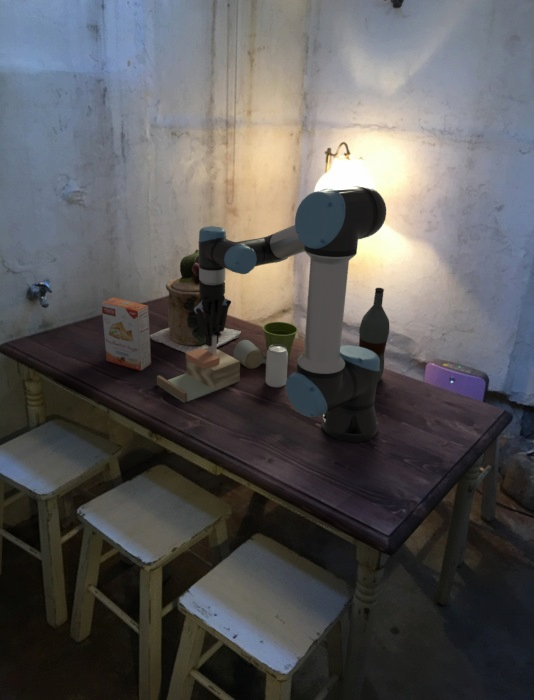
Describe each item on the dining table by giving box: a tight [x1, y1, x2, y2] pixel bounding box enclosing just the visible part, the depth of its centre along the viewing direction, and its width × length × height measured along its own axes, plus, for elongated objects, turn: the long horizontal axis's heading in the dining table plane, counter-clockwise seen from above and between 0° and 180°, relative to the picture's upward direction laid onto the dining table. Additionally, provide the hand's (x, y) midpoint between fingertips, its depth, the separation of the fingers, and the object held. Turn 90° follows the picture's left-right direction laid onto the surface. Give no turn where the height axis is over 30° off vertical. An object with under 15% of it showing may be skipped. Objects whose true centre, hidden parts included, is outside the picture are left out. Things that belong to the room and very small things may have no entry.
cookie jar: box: [150, 248, 242, 354], centre depth 200 cm, size 25×25×32 cm
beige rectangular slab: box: [185, 348, 241, 392], centre depth 178 cm, size 14×10×7 cm
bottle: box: [358, 287, 390, 383], centre depth 178 cm, size 9×9×30 cm
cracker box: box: [101, 297, 152, 372], centre depth 182 cm, size 14×6×21 cm, turn 64°
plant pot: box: [262, 321, 299, 361], centre depth 192 cm, size 12×12×11 cm
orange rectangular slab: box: [185, 348, 220, 369], centre depth 174 cm, size 9×6×2 cm, turn 43°
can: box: [265, 345, 289, 389], centre depth 175 cm, size 6×6×12 cm
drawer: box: [156, 372, 215, 404], centre depth 172 cm, size 14×11×3 cm
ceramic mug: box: [233, 339, 267, 370], centre depth 188 cm, size 11×8×8 cm
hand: (212, 354), depth 176 cm, fingers closed
